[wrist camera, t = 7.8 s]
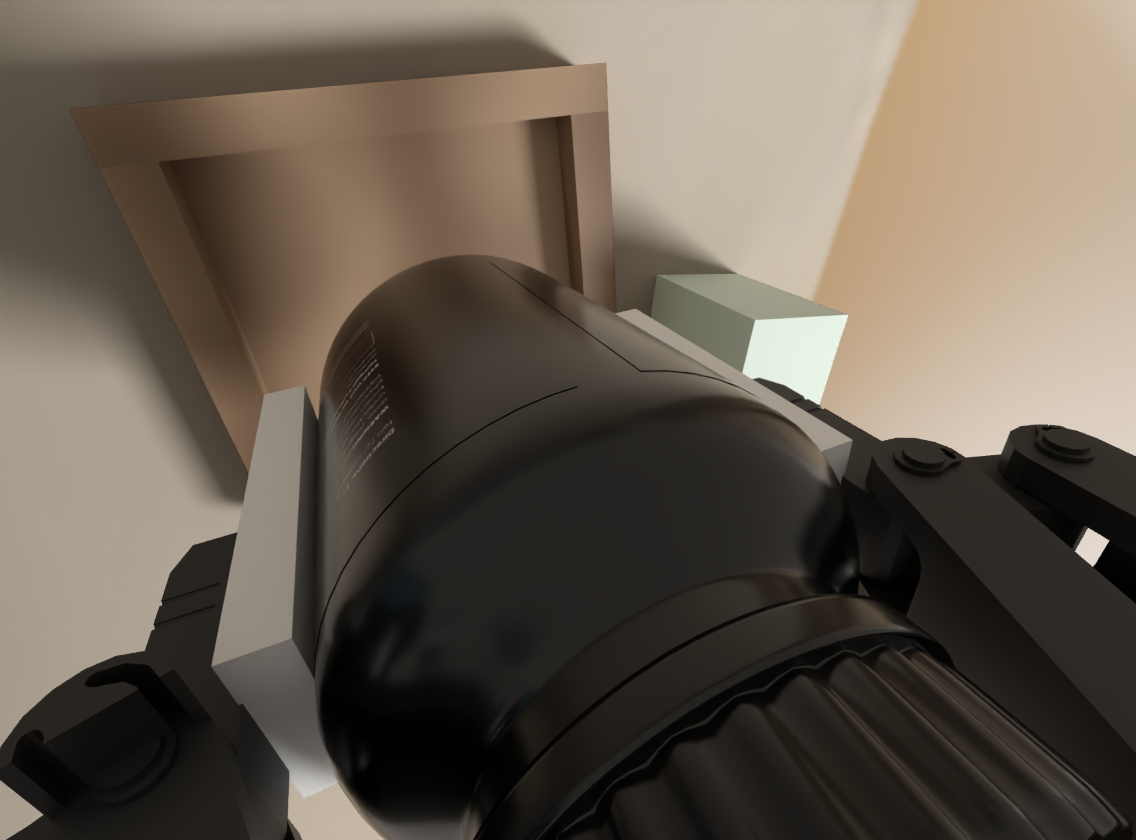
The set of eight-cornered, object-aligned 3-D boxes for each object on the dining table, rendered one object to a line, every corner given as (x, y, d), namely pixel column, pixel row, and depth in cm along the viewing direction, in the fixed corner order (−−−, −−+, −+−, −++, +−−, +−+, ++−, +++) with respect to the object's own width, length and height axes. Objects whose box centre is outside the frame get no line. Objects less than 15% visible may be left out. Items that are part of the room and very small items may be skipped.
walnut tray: (286, 509, 20) (283, 543, 18) (98, 109, 13) (69, 108, 12) (600, 417, 24) (621, 439, 22) (578, 67, 17) (606, 62, 15)
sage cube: (642, 367, 23) (727, 431, 19) (656, 274, 22) (755, 320, 17) (717, 360, 25) (814, 418, 20) (736, 273, 23) (848, 314, 18)
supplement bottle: (446, 547, 15) (655, 1311, 5) (248, 373, 11) (-350, 1941, 1) (637, 400, 15) (1187, 866, 5) (506, 182, 12) (1524, 410, 2)
